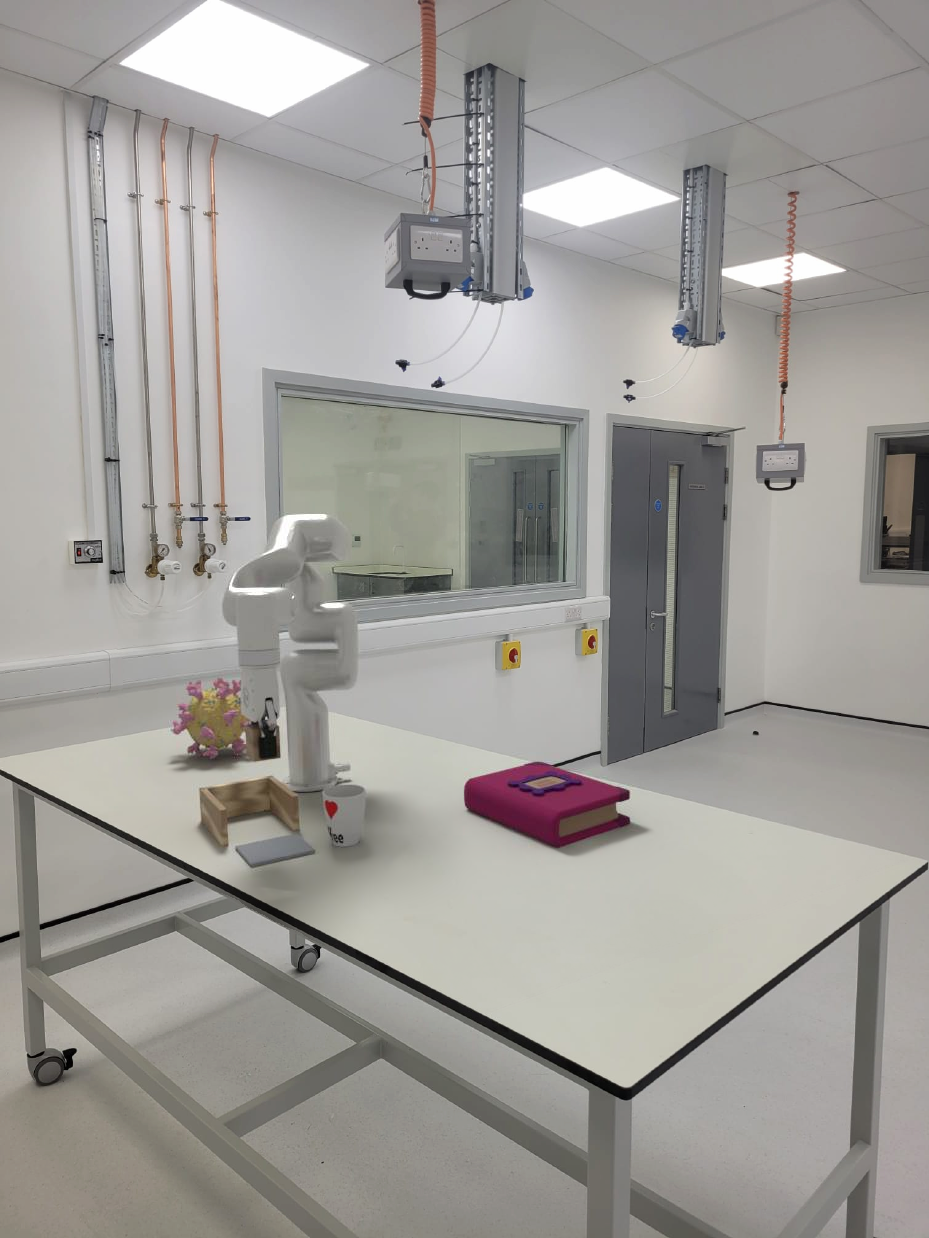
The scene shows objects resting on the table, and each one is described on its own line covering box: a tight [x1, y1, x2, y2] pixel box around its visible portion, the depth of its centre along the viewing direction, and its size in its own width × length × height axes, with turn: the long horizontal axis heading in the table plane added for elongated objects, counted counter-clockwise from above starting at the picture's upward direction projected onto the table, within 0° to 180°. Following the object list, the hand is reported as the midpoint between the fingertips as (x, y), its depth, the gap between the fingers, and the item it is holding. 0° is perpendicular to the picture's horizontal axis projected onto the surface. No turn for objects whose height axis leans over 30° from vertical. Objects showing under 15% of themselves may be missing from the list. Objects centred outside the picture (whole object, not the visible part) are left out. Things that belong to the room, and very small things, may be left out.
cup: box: [322, 784, 367, 848], centre depth 166 cm, size 8×8×10 cm
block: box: [244, 723, 281, 763], centre depth 162 cm, size 5×5×6 cm
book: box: [463, 761, 631, 848], centre depth 177 cm, size 21×28×8 cm
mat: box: [235, 832, 316, 868], centre depth 162 cm, size 12×10×1 cm
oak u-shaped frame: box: [198, 775, 301, 847], centre depth 176 cm, size 15×16×7 cm
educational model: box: [169, 677, 250, 760], centre depth 228 cm, size 23×22×20 cm
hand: (263, 753), depth 163 cm, fingers closed on block, 5 cm apart
